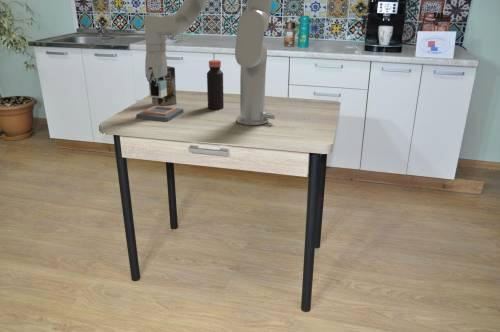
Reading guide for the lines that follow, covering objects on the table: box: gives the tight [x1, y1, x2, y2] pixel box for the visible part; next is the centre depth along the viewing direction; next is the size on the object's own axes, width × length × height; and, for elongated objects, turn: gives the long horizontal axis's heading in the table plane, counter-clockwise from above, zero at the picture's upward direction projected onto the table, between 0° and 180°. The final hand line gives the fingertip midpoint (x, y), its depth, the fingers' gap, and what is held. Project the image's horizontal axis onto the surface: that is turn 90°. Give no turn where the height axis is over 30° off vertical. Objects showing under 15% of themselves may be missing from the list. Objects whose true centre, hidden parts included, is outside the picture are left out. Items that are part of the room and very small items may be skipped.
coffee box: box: [151, 65, 177, 107], centre depth 205 cm, size 9×6×16 cm
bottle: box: [206, 59, 225, 111], centre depth 199 cm, size 7×7×20 cm
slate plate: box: [135, 105, 185, 122], centre depth 191 cm, size 14×14×2 cm
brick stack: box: [148, 80, 167, 98], centre depth 188 cm, size 5×5×6 cm
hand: (158, 93), depth 188 cm, fingers closed on brick stack, 5 cm apart
